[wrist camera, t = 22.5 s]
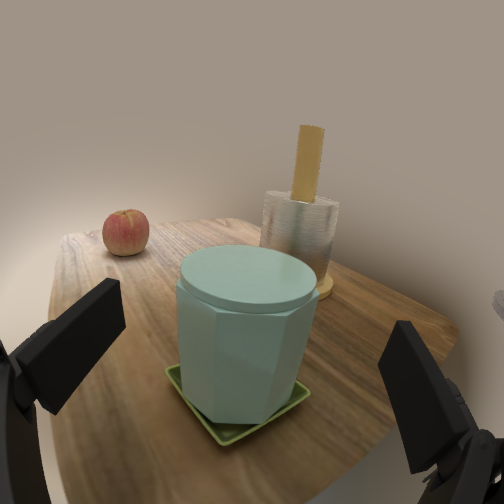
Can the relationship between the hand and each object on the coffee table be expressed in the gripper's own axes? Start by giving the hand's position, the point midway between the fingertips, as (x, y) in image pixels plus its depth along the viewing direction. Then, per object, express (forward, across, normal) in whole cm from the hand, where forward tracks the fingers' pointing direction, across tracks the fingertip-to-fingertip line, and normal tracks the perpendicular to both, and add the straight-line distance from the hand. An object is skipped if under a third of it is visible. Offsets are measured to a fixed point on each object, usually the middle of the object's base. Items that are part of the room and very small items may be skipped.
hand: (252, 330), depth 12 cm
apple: (+31, -26, -11) cm, 42 cm away
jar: (+5, -1, -9) cm, 10 cm away
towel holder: (+30, +4, -11) cm, 32 cm away
